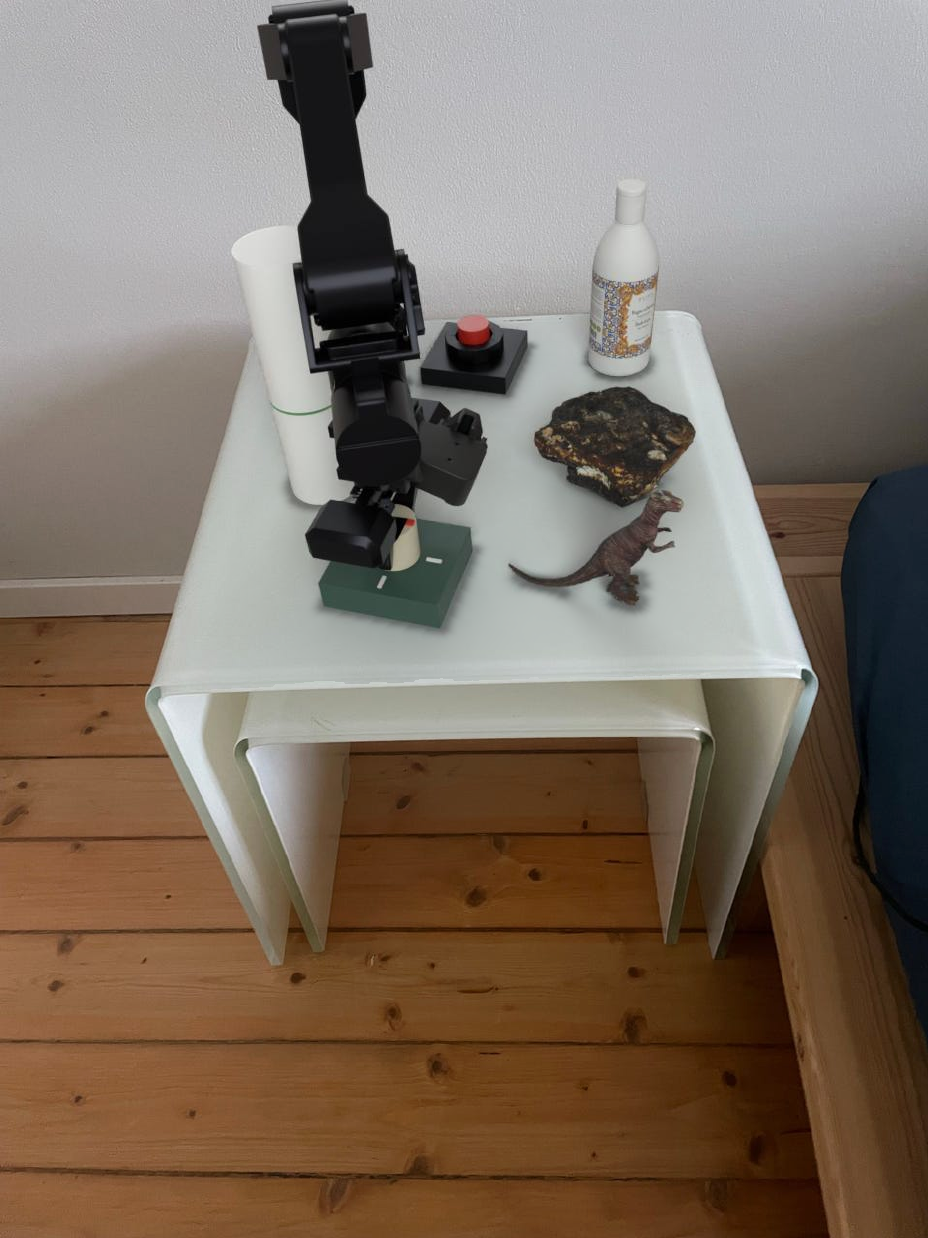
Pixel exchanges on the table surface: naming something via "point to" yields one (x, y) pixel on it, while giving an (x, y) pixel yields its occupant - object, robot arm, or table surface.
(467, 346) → the button box
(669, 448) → the fossil rock
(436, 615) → the dial panel
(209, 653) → the table surface
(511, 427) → the table surface
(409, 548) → the dial knob
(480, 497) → the table surface
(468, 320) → the button
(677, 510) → the dinosaur model
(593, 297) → the bath foam
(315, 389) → the cylindrical container
